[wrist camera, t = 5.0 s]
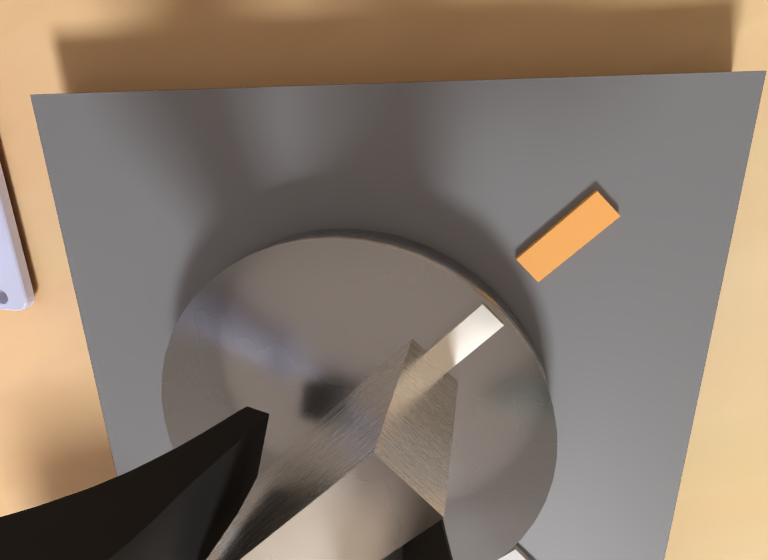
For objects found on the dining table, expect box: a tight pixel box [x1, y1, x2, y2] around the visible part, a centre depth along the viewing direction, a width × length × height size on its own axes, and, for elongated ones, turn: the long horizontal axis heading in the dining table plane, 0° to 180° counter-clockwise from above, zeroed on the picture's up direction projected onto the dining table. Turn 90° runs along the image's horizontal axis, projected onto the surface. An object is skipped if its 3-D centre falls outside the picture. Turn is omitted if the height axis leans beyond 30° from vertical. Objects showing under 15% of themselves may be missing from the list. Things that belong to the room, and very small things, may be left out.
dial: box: [162, 229, 557, 560], centre depth 12 cm, size 11×11×6 cm
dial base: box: [30, 71, 766, 560], centre depth 15 cm, size 18×18×2 cm
